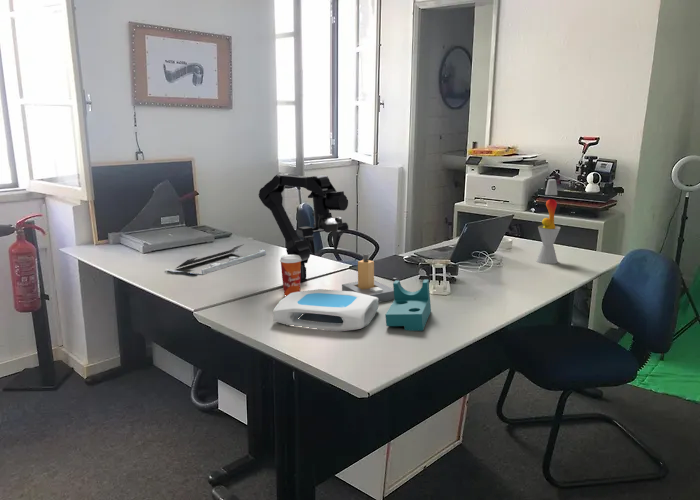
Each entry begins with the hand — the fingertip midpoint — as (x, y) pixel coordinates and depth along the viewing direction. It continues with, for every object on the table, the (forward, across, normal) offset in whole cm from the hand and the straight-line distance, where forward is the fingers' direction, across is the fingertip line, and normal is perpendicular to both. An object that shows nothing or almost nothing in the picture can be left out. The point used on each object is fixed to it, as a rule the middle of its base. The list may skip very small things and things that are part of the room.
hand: (324, 251), depth 212 cm
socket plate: (+14, +7, -19) cm, 24 cm away
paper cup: (+13, -16, -3) cm, 21 cm away
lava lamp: (+17, +97, -18) cm, 100 cm away
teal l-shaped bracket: (+16, +4, -47) cm, 49 cm away
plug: (+14, +7, -17) cm, 23 cm away
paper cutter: (+10, -24, +58) cm, 63 cm away
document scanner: (+15, -16, -31) cm, 38 cm away
